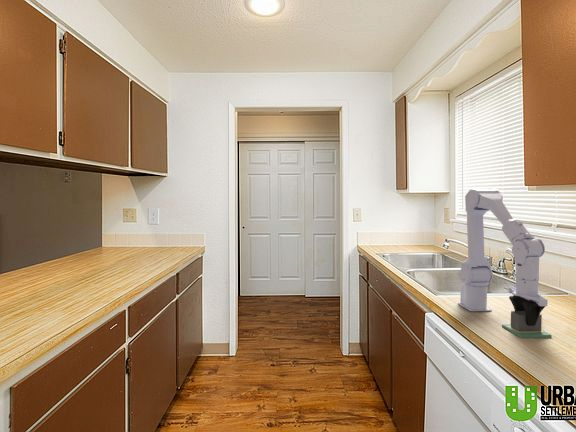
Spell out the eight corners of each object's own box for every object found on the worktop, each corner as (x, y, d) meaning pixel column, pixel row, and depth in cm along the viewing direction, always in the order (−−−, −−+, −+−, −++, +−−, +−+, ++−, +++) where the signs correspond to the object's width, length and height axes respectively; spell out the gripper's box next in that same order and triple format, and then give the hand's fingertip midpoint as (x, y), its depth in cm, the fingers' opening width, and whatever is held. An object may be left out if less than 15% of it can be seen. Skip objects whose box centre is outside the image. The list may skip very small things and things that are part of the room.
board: (502, 326, 112) (502, 317, 112) (530, 326, 112) (530, 317, 112) (520, 337, 103) (521, 327, 103) (551, 337, 103) (551, 327, 103)
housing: (510, 327, 110) (510, 311, 109) (532, 326, 110) (532, 310, 109) (518, 331, 106) (519, 315, 105) (541, 331, 106) (541, 314, 105)
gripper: (499, 273, 114) (498, 314, 115) (530, 284, 100) (529, 331, 100) (521, 273, 114) (520, 314, 115) (555, 284, 100) (554, 331, 100)
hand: (525, 322), depth 108 cm, fingers open, 4 cm apart
